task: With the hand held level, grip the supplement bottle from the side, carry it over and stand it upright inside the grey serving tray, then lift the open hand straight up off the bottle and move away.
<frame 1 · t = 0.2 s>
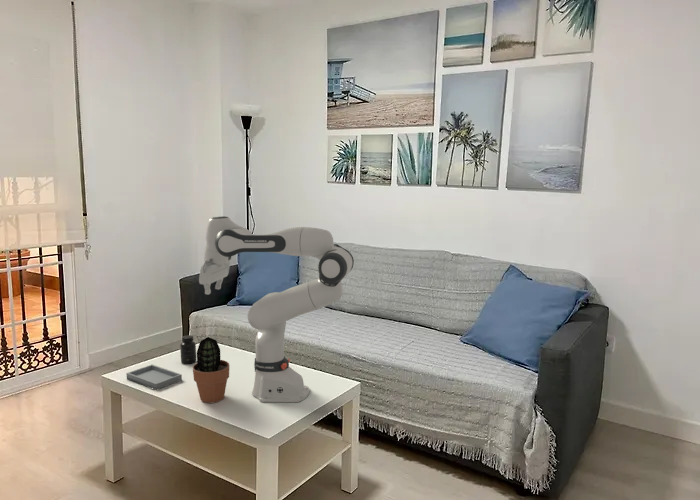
hand: (212, 291, 212), 40 cm above the table, tool pointing down, fingers open, 8 cm apart
supplement bottle: (188, 362, 246), on the table
potted plant: (212, 398, 207), on the table
grey serving tray: (154, 379, 225), on the table
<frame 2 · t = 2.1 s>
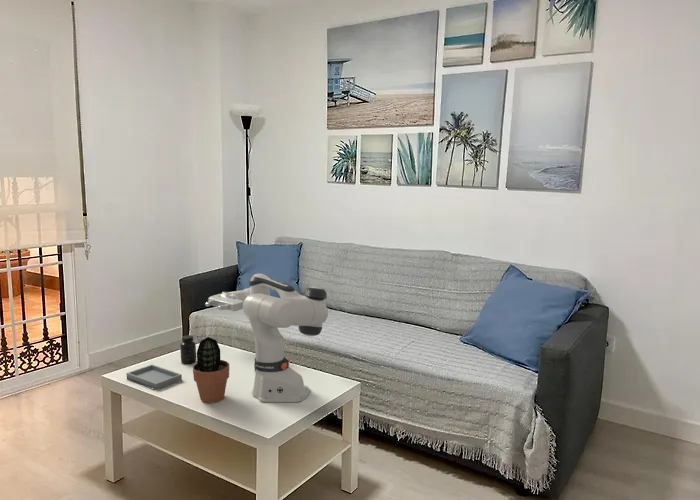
hand: (212, 306, 253), 23 cm above the table, tool horizontal, fingers open, 8 cm apart
nothing on the table moved.
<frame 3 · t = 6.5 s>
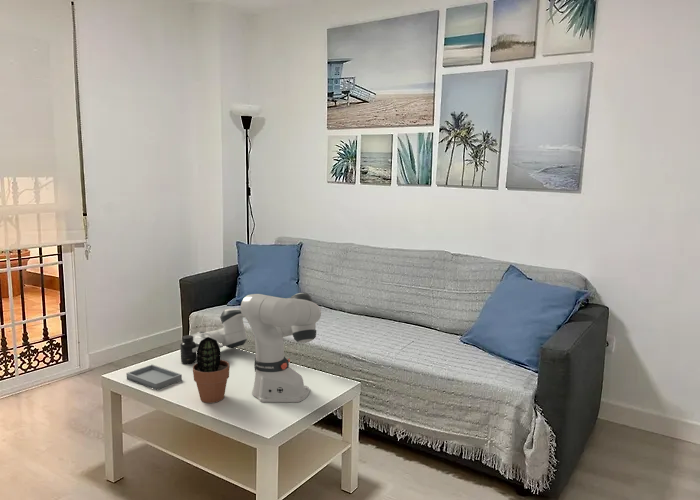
hand: (186, 348, 244), 7 cm above the table, tool horizontal, fingers closed on supplement bottle, 6 cm apart
supplement bottle: (188, 362, 246), on the table, touching gripper
everything else where it was.
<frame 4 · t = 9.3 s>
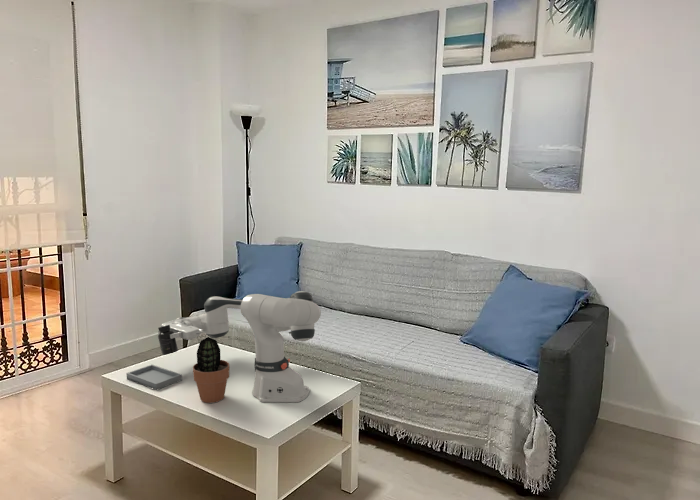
hand: (164, 334, 232), 16 cm above the table, tool horizontal, fingers closed on supplement bottle, 6 cm apart
supplement bottle: (170, 353, 232), point 8 cm above the table, touching gripper
everything else where it was.
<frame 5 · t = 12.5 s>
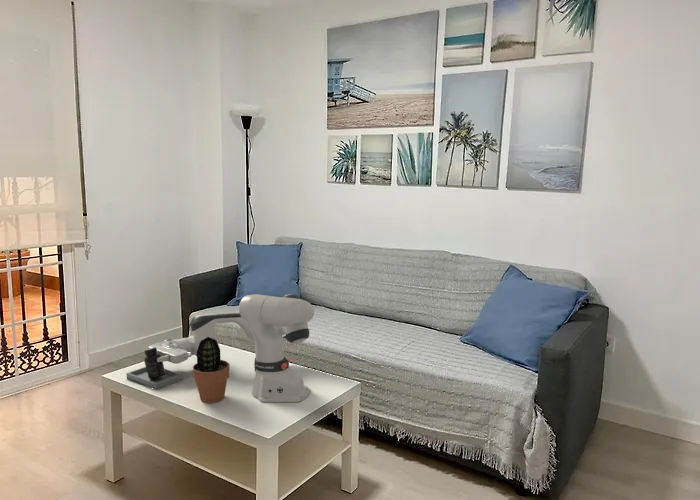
hand: (151, 358, 223), 10 cm above the table, tool horizontal, fingers closed on supplement bottle, 6 cm apart
supplement bottle: (157, 377, 223), point 2 cm above the table, touching grey serving tray, gripper
everything else where it was.
when the fingers open (10 cm above the table, at t = 12.6 s): supplement bottle moves 2 cm, resting on grey serving tray.
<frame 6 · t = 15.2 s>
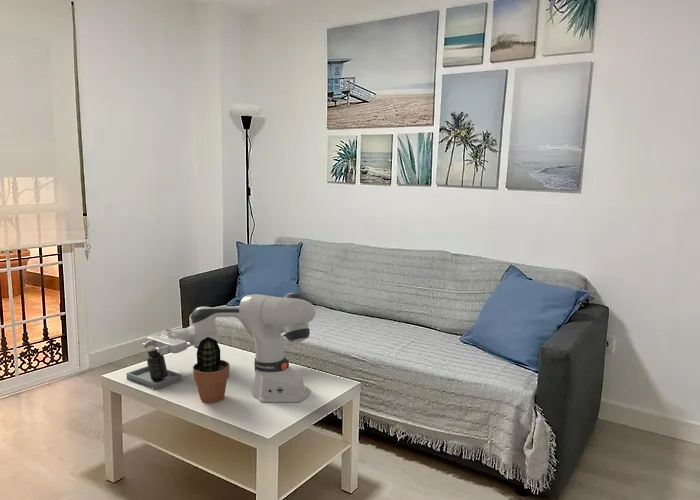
hand: (150, 348, 222), 14 cm above the table, tool horizontal, fingers open, 8 cm apart
supplement bottle: (159, 378, 222), point 2 cm above the table, touching grey serving tray, gripper
everything else where it was.
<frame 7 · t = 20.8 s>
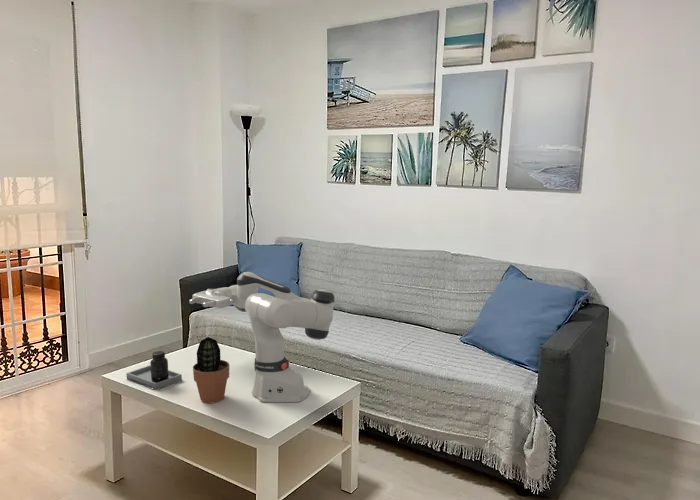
hand: (196, 303, 239), 28 cm above the table, tool horizontal, fingers open, 8 cm apart
supplement bottle: (160, 381, 222), point 1 cm above the table, touching grey serving tray
everything else where it was.
at the end: supplement bottle inside the target area on the grey serving tray (4.7 cm from its centre), point 0.6 cm above the grey serving tray's base; supplement bottle tilted 0°; the gripper is holding nothing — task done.
